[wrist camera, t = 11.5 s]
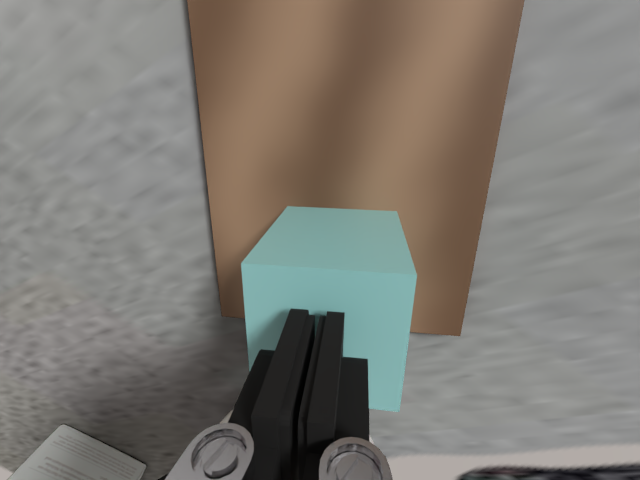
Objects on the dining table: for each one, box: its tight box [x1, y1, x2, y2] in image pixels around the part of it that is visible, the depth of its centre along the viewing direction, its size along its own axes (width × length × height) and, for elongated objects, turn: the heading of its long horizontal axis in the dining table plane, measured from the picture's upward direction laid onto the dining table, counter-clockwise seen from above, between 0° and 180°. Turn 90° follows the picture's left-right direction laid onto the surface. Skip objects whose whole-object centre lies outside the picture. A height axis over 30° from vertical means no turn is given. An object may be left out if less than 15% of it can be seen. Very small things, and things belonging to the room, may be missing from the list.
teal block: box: [241, 206, 417, 412], centre depth 14 cm, size 5×5×7 cm
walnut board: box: [187, 0, 524, 336], centre depth 15 cm, size 13×19×1 cm
